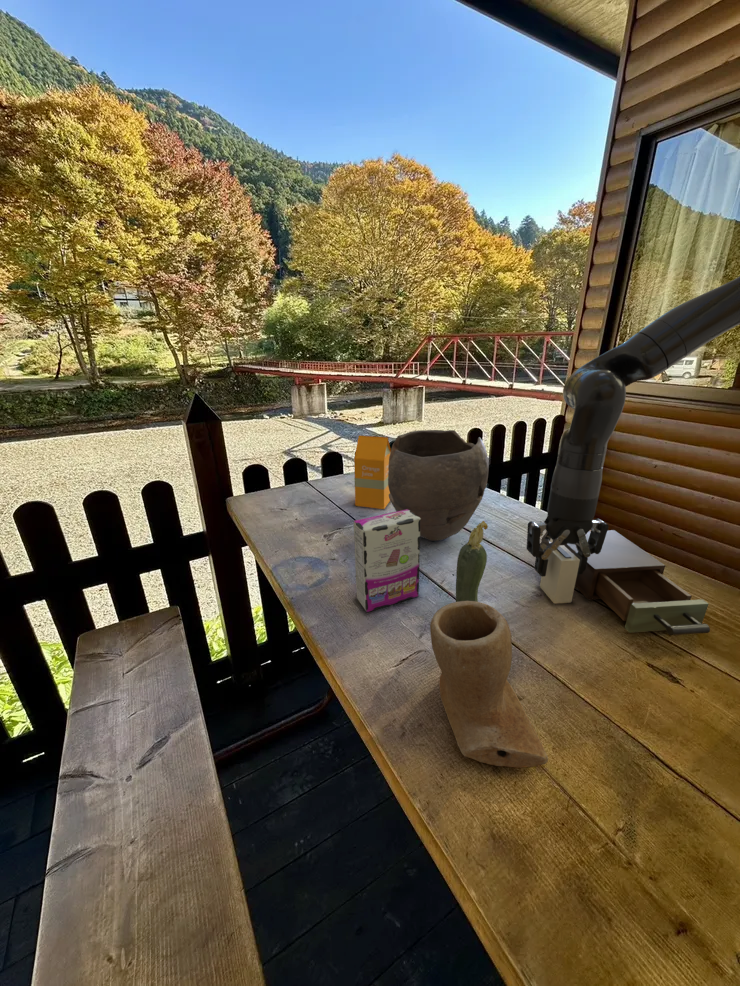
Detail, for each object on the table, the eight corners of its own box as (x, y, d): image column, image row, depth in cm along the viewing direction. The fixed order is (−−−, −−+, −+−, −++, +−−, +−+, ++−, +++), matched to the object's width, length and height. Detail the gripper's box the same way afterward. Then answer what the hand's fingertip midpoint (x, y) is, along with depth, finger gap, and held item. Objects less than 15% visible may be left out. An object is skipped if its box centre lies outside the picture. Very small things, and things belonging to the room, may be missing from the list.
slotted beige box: (556, 585, 80) (563, 543, 77) (571, 602, 75) (580, 558, 72) (539, 586, 80) (546, 544, 77) (553, 603, 75) (562, 559, 72)
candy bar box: (405, 583, 81) (408, 507, 76) (419, 597, 77) (422, 517, 71) (354, 598, 77) (352, 519, 71) (365, 613, 73) (364, 530, 67)
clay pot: (490, 526, 105) (501, 430, 96) (466, 571, 85) (476, 456, 76) (404, 510, 116) (407, 422, 107) (365, 546, 96) (363, 442, 87)
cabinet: (656, 595, 77) (665, 565, 75) (588, 599, 76) (595, 569, 74) (608, 556, 91) (614, 530, 88) (549, 559, 90) (553, 532, 87)
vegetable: (451, 635, 67) (460, 525, 60) (452, 619, 71) (461, 514, 64) (478, 639, 66) (491, 528, 59) (478, 622, 70) (490, 516, 63)
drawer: (723, 645, 63) (733, 620, 62) (648, 651, 62) (655, 625, 61) (642, 582, 80) (648, 560, 78) (582, 585, 79) (586, 563, 77)
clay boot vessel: (418, 676, 59) (422, 588, 54) (498, 671, 60) (510, 584, 55) (444, 782, 45) (453, 678, 40) (548, 774, 46) (571, 671, 41)
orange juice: (384, 509, 116) (384, 440, 109) (354, 505, 119) (353, 438, 112) (391, 499, 123) (392, 434, 116) (363, 496, 126) (362, 432, 118)
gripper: (544, 499, 66) (530, 587, 72) (628, 495, 67) (608, 582, 73) (524, 483, 73) (513, 564, 79) (600, 480, 74) (584, 561, 80)
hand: (559, 572), depth 76 cm, fingers open, 6 cm apart
